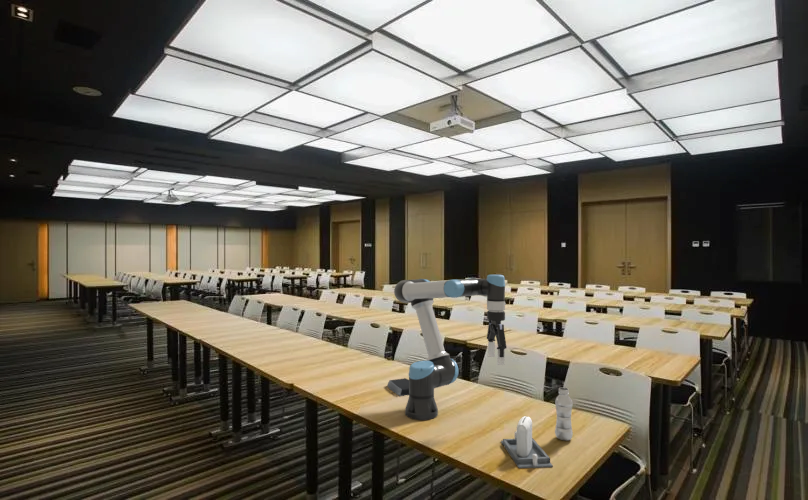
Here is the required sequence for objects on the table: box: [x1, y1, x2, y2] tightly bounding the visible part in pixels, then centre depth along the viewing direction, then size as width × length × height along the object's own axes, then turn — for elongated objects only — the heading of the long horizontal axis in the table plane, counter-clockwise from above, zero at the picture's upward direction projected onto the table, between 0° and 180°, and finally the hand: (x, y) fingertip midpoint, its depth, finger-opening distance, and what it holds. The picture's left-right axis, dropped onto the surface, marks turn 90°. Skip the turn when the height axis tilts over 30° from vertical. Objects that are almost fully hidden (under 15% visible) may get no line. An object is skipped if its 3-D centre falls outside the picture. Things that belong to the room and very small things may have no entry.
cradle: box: [500, 431, 553, 469], centre depth 152 cm, size 12×20×4 cm, turn 4°
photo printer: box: [516, 415, 533, 457], centre depth 153 cm, size 10×4×12 cm, turn 151°
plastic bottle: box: [554, 387, 574, 441], centre depth 165 cm, size 6×7×20 cm
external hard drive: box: [386, 377, 409, 397], centre depth 226 cm, size 13×19×4 cm
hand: (496, 360), depth 175 cm, fingers open, 13 cm apart
